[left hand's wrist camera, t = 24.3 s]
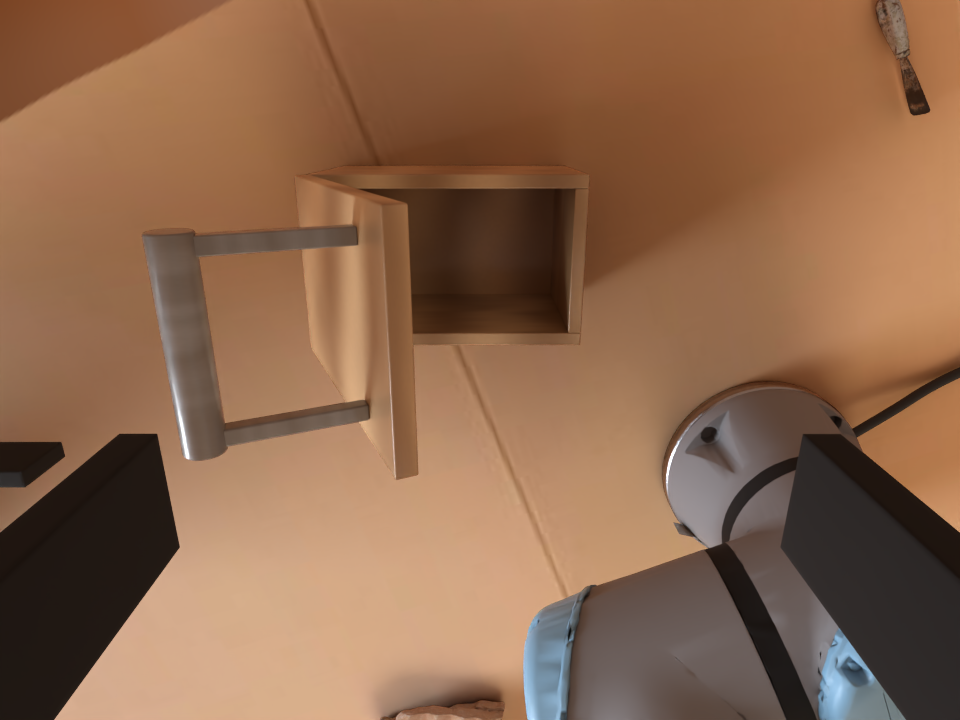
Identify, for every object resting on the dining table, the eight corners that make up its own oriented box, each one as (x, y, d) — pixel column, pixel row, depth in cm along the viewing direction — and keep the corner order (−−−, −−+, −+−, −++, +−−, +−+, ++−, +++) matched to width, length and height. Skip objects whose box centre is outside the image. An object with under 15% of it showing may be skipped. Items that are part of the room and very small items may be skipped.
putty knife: (885, -7, 40) (901, -13, 38) (922, 109, 42) (939, 108, 40) (869, 2, 40) (885, -3, 38) (907, 118, 42) (924, 117, 41)
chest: (565, 165, 43) (590, 174, 34) (559, 301, 47) (580, 345, 37) (344, 165, 43) (305, 174, 34) (353, 301, 47) (320, 345, 37)
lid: (408, 202, 19) (128, 216, 16) (419, 475, 23) (188, 529, 20) (311, 174, 33) (149, 179, 30) (326, 347, 37) (182, 366, 34)
